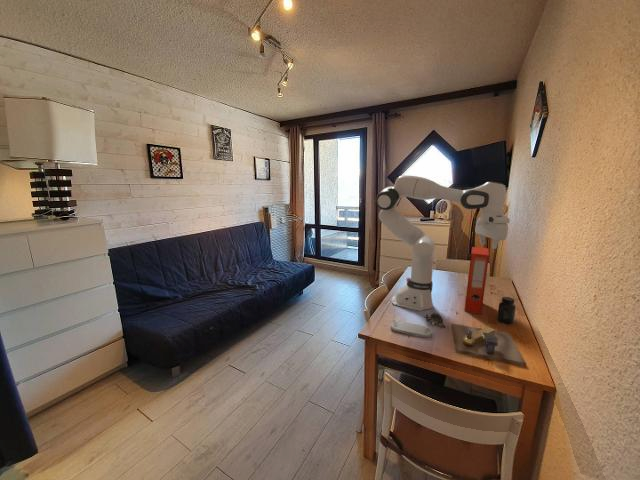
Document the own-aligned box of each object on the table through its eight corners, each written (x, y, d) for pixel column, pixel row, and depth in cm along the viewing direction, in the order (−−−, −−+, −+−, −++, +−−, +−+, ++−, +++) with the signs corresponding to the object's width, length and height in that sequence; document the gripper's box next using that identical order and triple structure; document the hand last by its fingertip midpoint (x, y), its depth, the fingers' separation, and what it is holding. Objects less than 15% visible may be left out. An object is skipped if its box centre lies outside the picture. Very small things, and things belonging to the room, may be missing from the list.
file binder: (481, 302, 153) (488, 248, 146) (481, 314, 138) (489, 255, 132) (465, 299, 157) (471, 246, 150) (464, 311, 142) (470, 253, 136)
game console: (389, 326, 123) (392, 318, 130) (389, 331, 124) (392, 323, 131) (431, 335, 116) (432, 326, 123) (430, 340, 116) (431, 331, 123)
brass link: (470, 347, 107) (471, 335, 106) (460, 342, 111) (462, 330, 110) (495, 335, 116) (497, 324, 115) (486, 331, 119) (487, 320, 118)
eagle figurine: (422, 324, 127) (442, 326, 121) (423, 309, 130) (443, 311, 124) (427, 327, 132) (447, 329, 127) (428, 312, 135) (447, 314, 129)
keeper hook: (484, 352, 104) (485, 340, 103) (481, 343, 110) (482, 332, 109) (496, 355, 103) (497, 342, 102) (492, 345, 109) (494, 334, 108)
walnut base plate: (456, 352, 107) (456, 349, 106) (451, 326, 127) (451, 323, 126) (525, 366, 98) (525, 362, 98) (508, 336, 118) (509, 332, 118)
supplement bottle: (497, 316, 136) (500, 294, 134) (513, 320, 132) (516, 297, 130) (496, 322, 130) (499, 299, 128) (513, 326, 127) (517, 302, 124)
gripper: (473, 214, 134) (470, 241, 137) (497, 219, 114) (493, 251, 117) (486, 215, 134) (482, 241, 136) (512, 219, 114) (508, 251, 116)
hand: (487, 246), depth 126 cm, fingers open, 8 cm apart
